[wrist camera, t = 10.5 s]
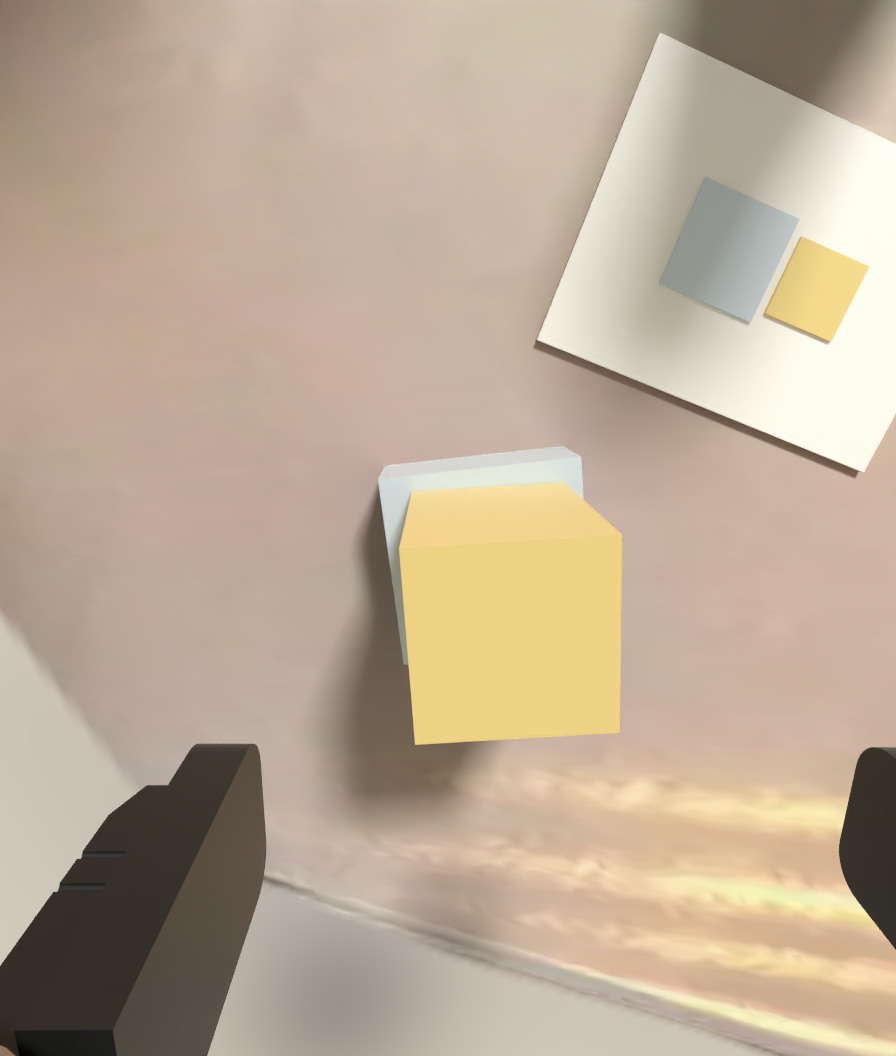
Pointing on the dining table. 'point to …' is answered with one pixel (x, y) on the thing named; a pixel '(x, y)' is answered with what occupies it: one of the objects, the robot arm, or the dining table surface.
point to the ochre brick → (511, 614)
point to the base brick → (464, 474)
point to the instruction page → (741, 258)
